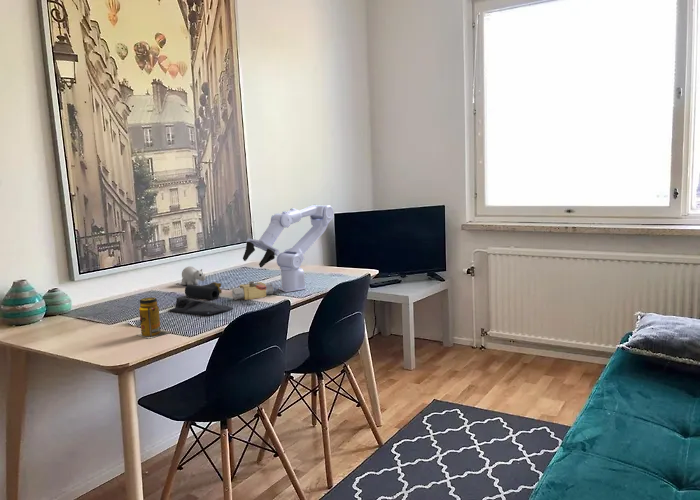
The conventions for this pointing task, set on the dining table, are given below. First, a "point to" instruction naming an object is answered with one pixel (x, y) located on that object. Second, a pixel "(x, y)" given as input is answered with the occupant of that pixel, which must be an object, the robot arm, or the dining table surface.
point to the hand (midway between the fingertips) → (252, 262)
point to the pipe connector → (204, 291)
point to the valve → (251, 291)
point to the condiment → (150, 318)
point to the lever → (257, 285)
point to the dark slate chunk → (198, 307)
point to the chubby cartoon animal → (192, 276)
